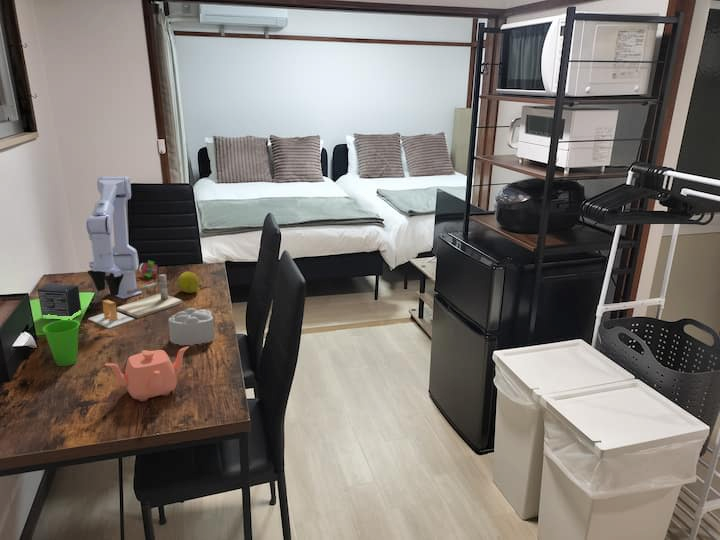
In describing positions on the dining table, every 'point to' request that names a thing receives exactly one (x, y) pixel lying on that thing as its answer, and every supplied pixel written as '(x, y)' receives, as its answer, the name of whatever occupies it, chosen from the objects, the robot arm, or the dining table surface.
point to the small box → (59, 299)
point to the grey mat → (109, 323)
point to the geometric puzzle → (148, 268)
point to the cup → (63, 340)
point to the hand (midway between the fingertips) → (107, 292)
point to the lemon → (188, 282)
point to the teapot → (149, 373)
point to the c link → (109, 310)
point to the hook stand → (150, 300)
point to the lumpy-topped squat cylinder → (191, 327)
